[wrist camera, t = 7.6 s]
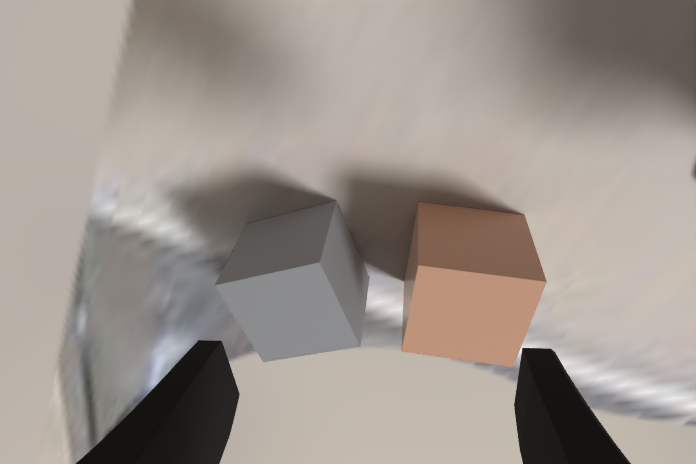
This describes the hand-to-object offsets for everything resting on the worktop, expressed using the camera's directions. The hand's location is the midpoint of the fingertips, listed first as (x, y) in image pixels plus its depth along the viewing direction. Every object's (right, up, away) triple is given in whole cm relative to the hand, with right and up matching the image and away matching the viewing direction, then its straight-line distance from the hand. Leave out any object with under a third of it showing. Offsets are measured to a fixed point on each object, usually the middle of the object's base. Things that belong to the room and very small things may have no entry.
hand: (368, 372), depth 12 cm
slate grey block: (-2, +3, +11) cm, 12 cm away
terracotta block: (+5, +3, +10) cm, 12 cm away
